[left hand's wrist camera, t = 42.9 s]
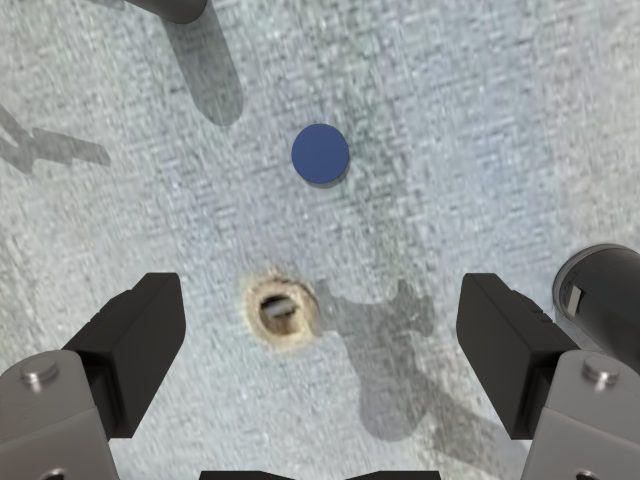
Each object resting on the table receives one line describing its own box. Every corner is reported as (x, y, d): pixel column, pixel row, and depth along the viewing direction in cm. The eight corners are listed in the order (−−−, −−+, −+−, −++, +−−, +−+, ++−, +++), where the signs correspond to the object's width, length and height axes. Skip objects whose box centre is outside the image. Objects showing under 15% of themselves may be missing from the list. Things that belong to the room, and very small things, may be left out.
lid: (311, 112, 36) (311, 113, 34) (358, 143, 37) (360, 146, 35) (282, 159, 38) (280, 163, 36) (328, 188, 39) (328, 193, 37)
